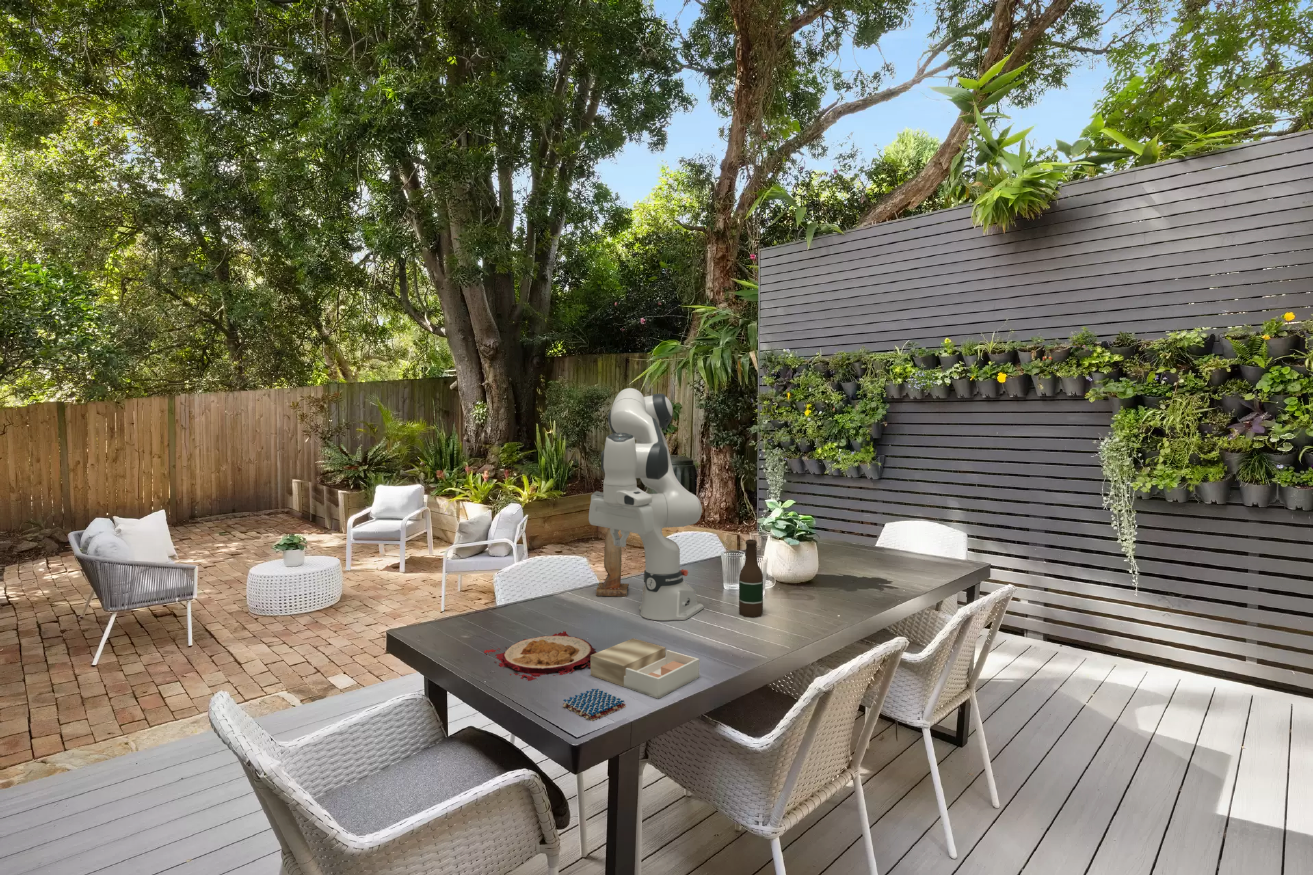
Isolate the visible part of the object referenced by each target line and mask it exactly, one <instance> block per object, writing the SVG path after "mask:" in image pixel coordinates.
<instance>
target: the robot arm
mask: <svg viewBox="0 0 1313 875" xmlns="http://www.w3.org/2000/svg"><path fill="white" fill-rule="evenodd" d="M673 412H674V409H673V405H672V403H671V401H670V400H669V398H668V396H667V395H666V394H664V393H653V394H652V395H648V396H644V395H643V393H641V391H640V390H638V389H636V388H632V387H630V388H628V387H627V388H624V389H622V390H621V391H619V392H618V394H617V395H616V397H615V399H614V401H613V403H612V407H611V409H610V410H609V412H608V415H607V423H608V427H609V429H610V431H611V432H612V433H610V434H609V435H607V436H606V438H605V443H604V449H603V450H602V451H601V452H600V470H601V471H602V472H603V473H604V479H603V486H602V487H603V491H602V492H601V491H599V490H598V491H597V490H596V491H594V492H593V493H592V494H591V495H590V505H589V511H588V522H589V524H590V525H591V526H597V527H602V528H605V529H609V528H610V533H611V535H612V537H613V539H614V545H615V546H620V547H621V548H625V547H626V546H627V540H628V538H629V536H630V534H631V533H633V534H637V535H638V536H639V537H640V539H641V542H642V545H643V549H644V563H645V569H644V571H643V581H644V584H643V586H642V592H641V593H642V594H641V605H639V607H638V608H639V609H638V610H639V611H640V617H643V618H645V619H648V620H652V621H685V620H688V619H690V618H691V617H693V616H694V615H696V614H697V613H699V612H701V611H702V610H704V608H705V606H704V604H702V603H700V602H697V593H696V590H695V588H692V587H691V586H690V585H689V584H688V583H686V581H685V580H684V577H687V576H688V575H689V570H688V569H684V568H683V569H681V567H680V566H681V564H680V563H681V558H680V557H681V556H680V554H681V553H680V552H681V550H680V547H679V545H678V543H677V542H675V541H674V540H672V539H671V538H669V537H667V536H664V534H663V529H665V528H683V527H687V526H691V525H695V524H696V523H697V522H699V521H700V519H701V516H702V512H703V507H702V504H701V500H700V499H699V498H698V496H697V495H695V494H694V493H692V492H690V491H688V490H687V489H686V488H685V487H684V486H683V485H682V484H681V483H680V481H679V480H678V478H677V476H676V475H675V471H674V469H673V464H672V460H671V454H670V450H669V445H668V443H667V439H666V437H665V435H664V433H663V431H666V430H667V429H668V425H669V424H670V423H671V421H672V419H673ZM662 429H663V430H662ZM637 479H640V481H641V483H642V484H643V485H644V486H645V487H647V488H649V489H651V490H652V491H654V492H656V493H647V492H646V491H644V490H642V489H640V488H639V487H638V486H637V483H638V482H637ZM619 533H620V535H621V536H620V535H619ZM683 576H684V577H683Z"/></svg>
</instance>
